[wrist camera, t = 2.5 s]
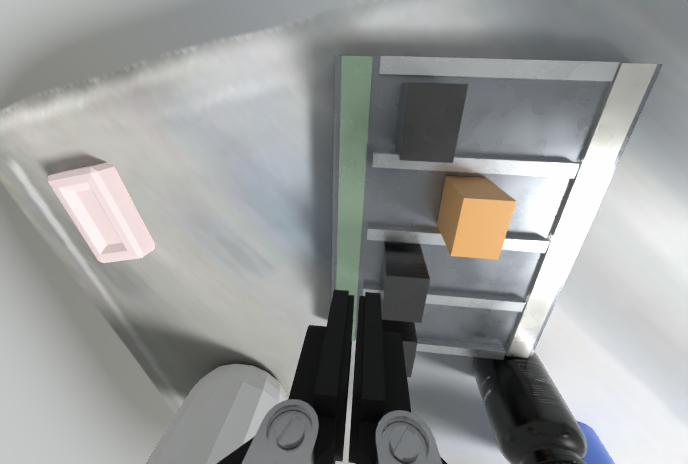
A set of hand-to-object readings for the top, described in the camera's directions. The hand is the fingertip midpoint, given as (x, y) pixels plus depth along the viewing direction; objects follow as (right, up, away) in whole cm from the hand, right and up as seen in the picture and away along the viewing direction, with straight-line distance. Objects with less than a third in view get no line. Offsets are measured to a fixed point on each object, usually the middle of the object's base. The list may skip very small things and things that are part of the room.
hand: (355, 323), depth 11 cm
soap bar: (-23, +6, +19) cm, 30 cm away
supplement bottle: (+17, -11, +22) cm, 30 cm away
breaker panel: (+9, +4, +15) cm, 18 cm away
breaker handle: (+9, +6, +12) cm, 16 cm away
